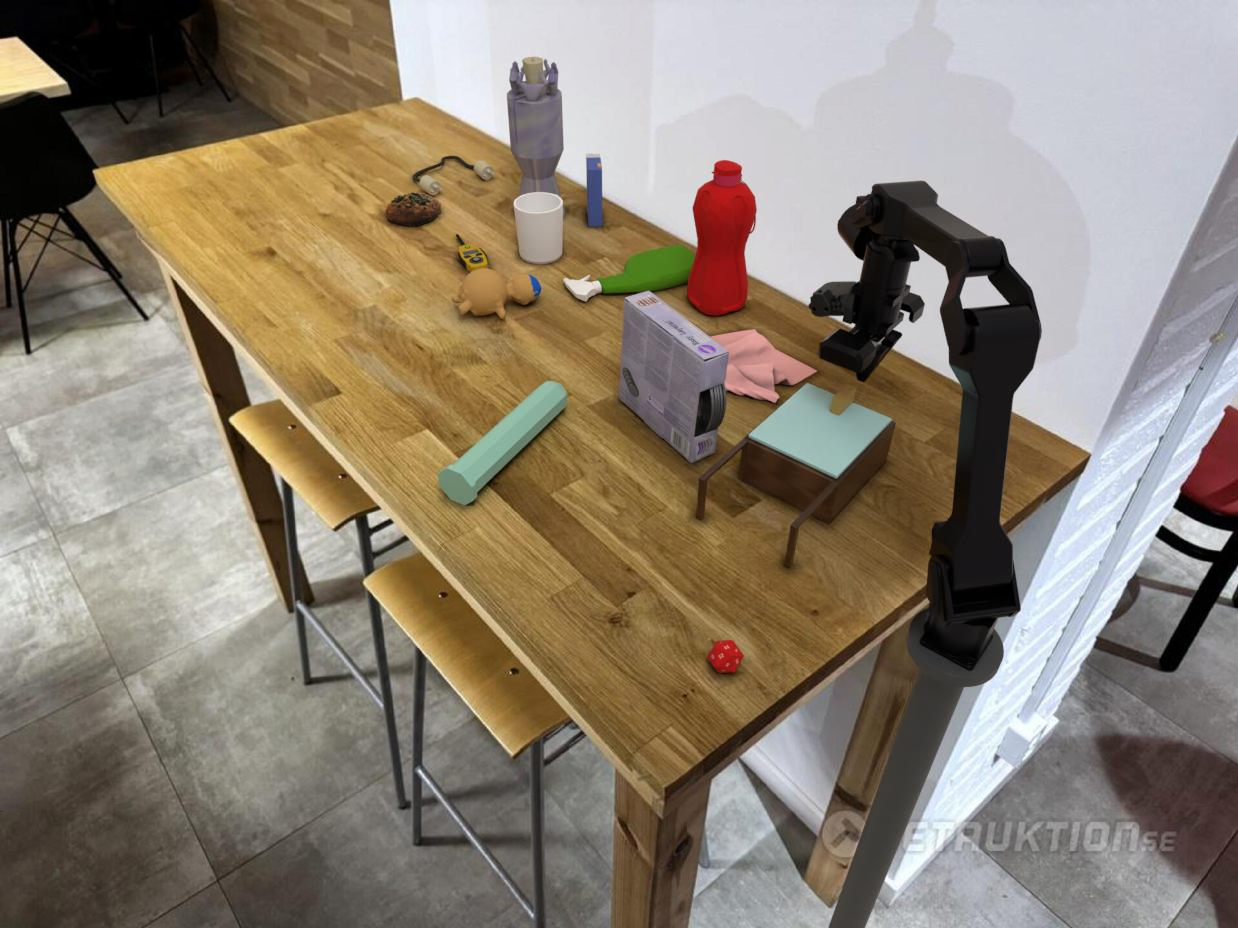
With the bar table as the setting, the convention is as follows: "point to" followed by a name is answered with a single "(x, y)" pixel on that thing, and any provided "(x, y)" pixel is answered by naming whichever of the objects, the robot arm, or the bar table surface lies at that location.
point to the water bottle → (721, 241)
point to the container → (502, 443)
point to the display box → (801, 480)
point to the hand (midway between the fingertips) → (861, 380)
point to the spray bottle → (641, 274)
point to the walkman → (594, 189)
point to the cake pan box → (672, 375)
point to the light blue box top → (821, 428)
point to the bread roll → (413, 209)
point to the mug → (539, 227)
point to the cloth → (758, 365)
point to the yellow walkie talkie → (471, 256)
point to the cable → (430, 183)
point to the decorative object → (536, 124)
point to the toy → (494, 292)
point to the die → (725, 656)
